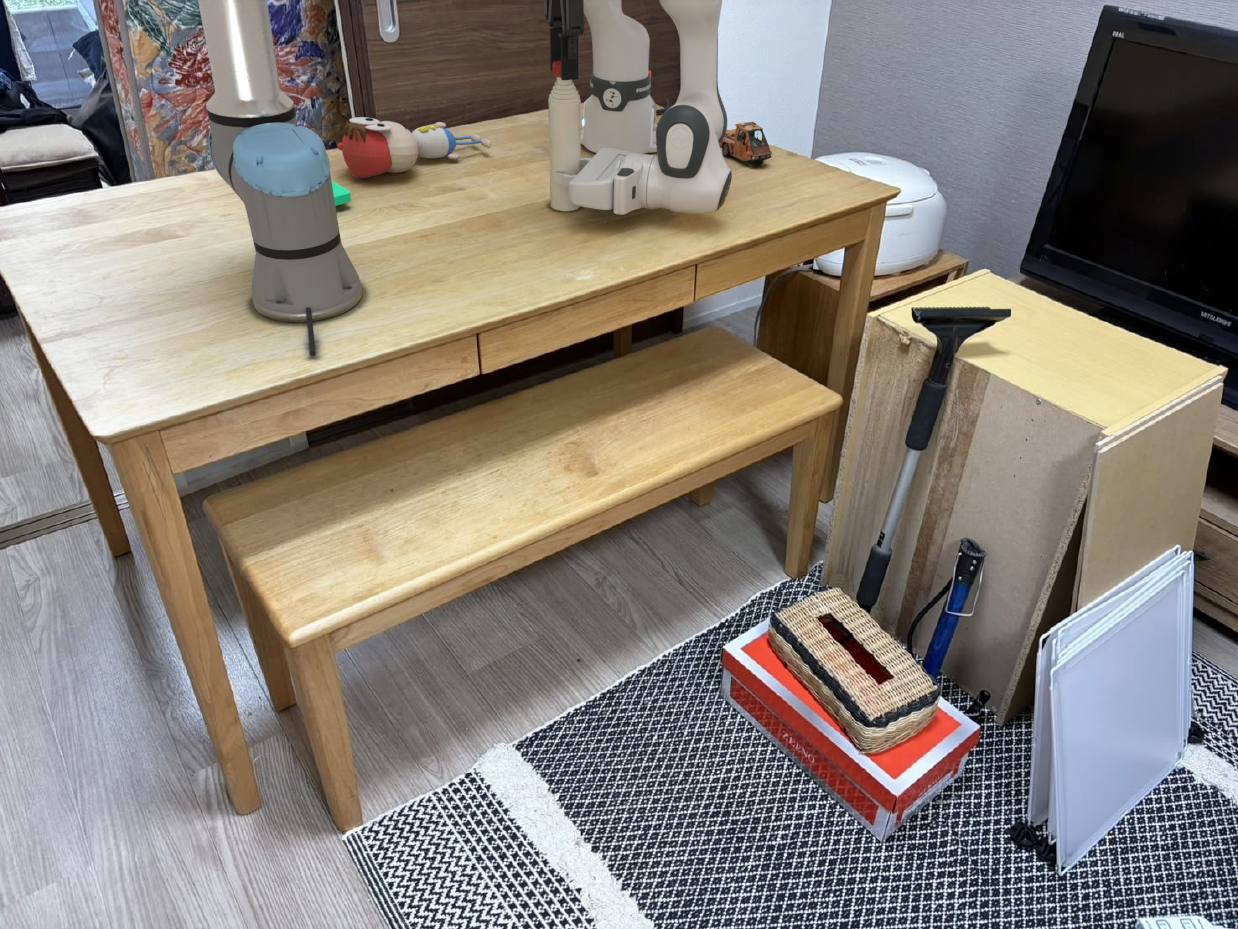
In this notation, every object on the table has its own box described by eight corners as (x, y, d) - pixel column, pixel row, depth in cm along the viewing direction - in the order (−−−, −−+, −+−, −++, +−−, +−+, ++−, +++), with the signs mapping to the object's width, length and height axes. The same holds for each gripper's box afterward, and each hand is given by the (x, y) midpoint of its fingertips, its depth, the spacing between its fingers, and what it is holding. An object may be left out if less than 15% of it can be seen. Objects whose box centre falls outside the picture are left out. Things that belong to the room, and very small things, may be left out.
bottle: (575, 212, 163) (574, 71, 149) (546, 209, 164) (543, 68, 150) (584, 201, 168) (584, 63, 153) (555, 198, 169) (553, 60, 155)
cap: (573, 71, 155) (573, 59, 153) (578, 77, 152) (578, 65, 150) (550, 72, 154) (550, 60, 153) (554, 78, 151) (554, 66, 150)
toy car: (734, 147, 194) (738, 113, 189) (776, 163, 186) (781, 128, 182) (712, 153, 190) (715, 118, 186) (754, 169, 183) (758, 134, 179)
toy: (506, 124, 177) (353, 127, 162) (506, 178, 182) (356, 186, 167) (466, 108, 191) (320, 110, 176) (466, 159, 195) (325, 165, 180)
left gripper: (607, -82, 133) (604, 87, 147) (567, -96, 147) (568, 59, 161) (557, -81, 131) (559, 91, 145) (521, -96, 144) (526, 62, 158)
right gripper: (651, 143, 166) (578, 134, 169) (621, 181, 150) (540, 171, 153) (650, 178, 170) (578, 169, 172) (620, 219, 154) (541, 208, 157)
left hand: (564, 74), depth 153 cm, fingers open, 5 cm apart
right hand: (560, 170), depth 162 cm, fingers closed on bottle, 5 cm apart
